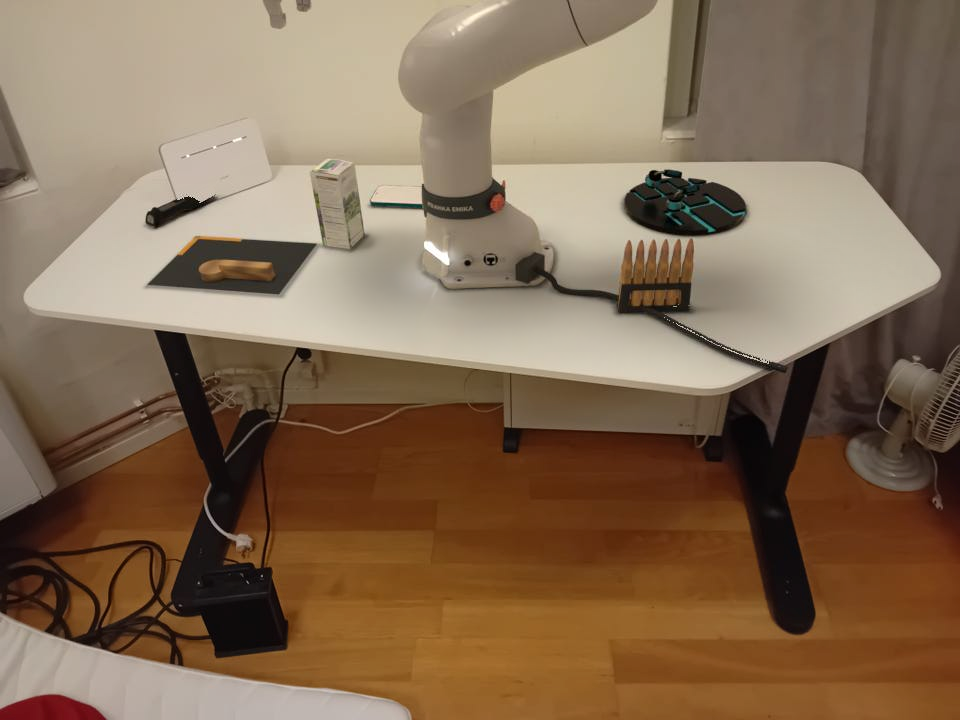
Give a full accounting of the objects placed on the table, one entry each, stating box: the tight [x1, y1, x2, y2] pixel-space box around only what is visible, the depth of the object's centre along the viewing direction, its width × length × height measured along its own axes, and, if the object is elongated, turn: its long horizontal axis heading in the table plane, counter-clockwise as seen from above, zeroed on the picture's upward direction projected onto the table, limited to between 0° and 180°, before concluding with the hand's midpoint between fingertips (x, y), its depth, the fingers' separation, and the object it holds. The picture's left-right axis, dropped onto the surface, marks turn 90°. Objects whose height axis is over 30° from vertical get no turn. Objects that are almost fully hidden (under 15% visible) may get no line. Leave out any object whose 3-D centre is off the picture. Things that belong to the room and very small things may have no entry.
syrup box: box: [309, 158, 365, 250], centre depth 131 cm, size 6×6×14 cm
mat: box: [147, 235, 318, 296], centre depth 130 cm, size 24×17×1 cm
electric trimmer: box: [145, 194, 216, 228], centre depth 148 cm, size 4×16×3 cm, turn 143°
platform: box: [623, 168, 747, 236], centre depth 138 cm, size 22×22×6 cm
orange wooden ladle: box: [199, 260, 275, 282], centre depth 126 cm, size 13×5×3 cm, turn 78°
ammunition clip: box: [616, 237, 695, 314], centre depth 110 cm, size 11×2×12 cm, turn 88°
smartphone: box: [369, 184, 423, 209], centre depth 148 cm, size 8×1×16 cm
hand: (292, 18), depth 109 cm, fingers open, 8 cm apart
